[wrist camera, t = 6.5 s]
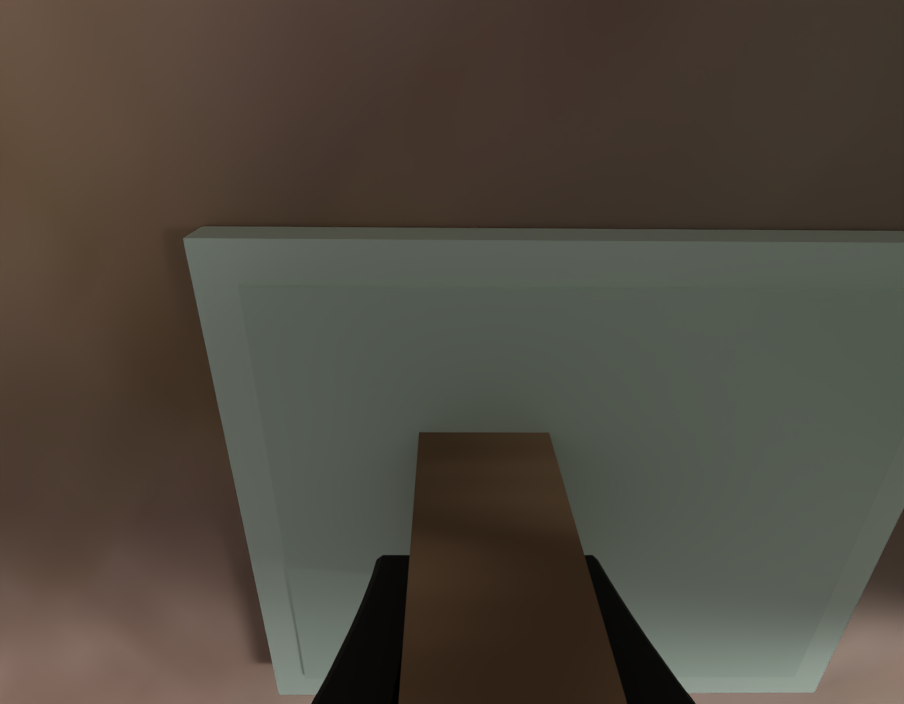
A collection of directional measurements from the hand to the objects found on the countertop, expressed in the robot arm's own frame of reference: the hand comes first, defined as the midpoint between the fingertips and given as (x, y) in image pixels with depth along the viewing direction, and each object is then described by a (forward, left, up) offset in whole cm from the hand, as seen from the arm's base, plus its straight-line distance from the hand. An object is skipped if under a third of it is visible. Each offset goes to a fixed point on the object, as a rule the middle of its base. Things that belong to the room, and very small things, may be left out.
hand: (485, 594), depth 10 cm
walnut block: (0, 0, -2) cm, 2 cm away
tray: (+2, 0, -3) cm, 3 cm away
